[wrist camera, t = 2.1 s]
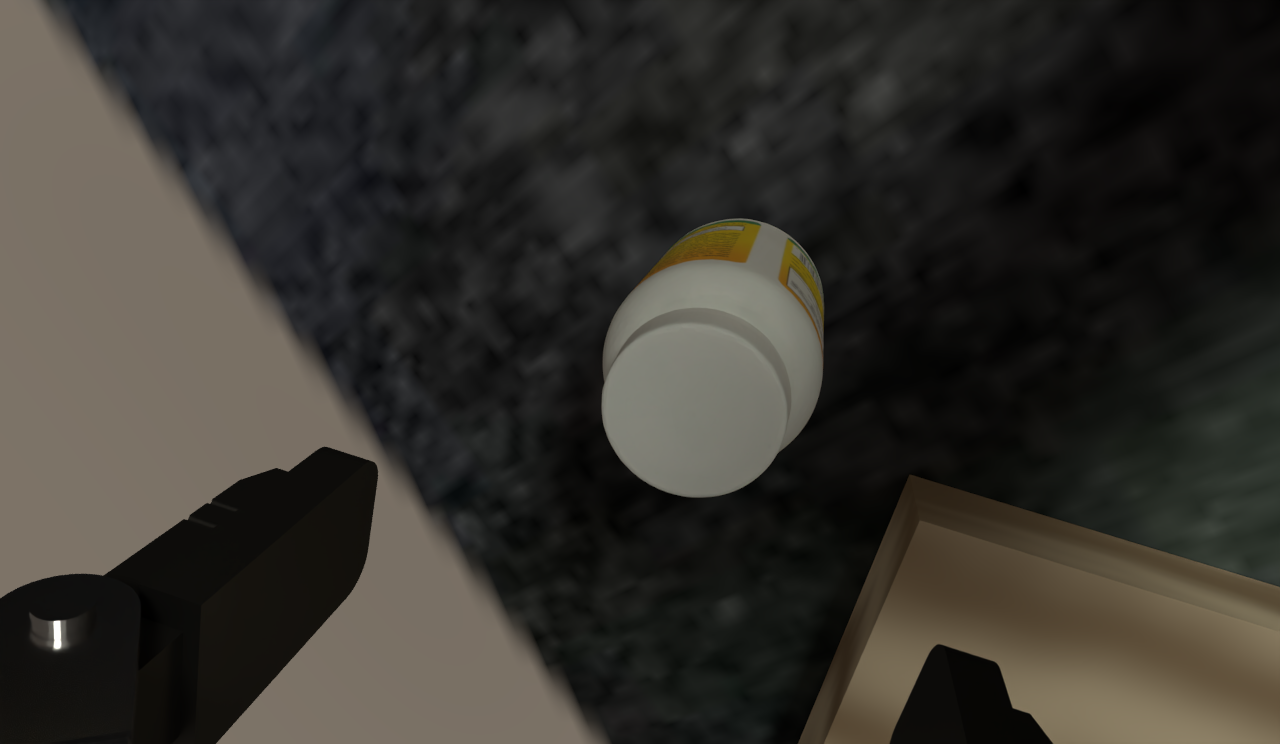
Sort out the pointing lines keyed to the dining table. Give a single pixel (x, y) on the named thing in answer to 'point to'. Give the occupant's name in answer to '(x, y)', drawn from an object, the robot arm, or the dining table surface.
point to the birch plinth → (1055, 629)
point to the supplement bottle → (715, 359)
